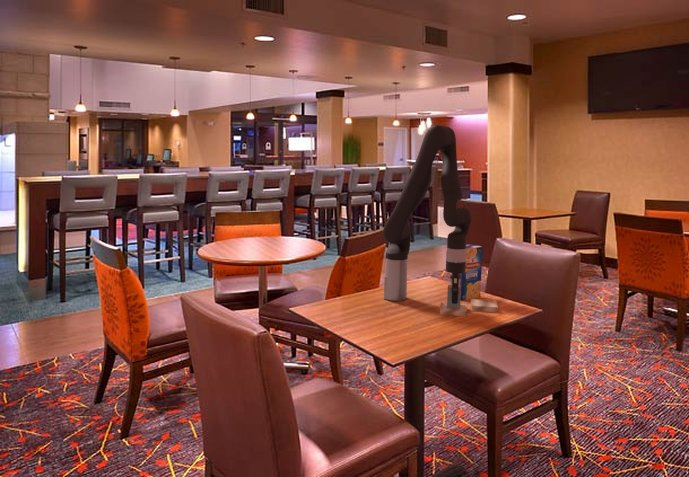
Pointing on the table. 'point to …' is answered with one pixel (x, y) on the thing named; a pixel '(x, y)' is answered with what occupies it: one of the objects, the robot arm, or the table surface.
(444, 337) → the table surface
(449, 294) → the block
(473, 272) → the blue food carton
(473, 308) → the stand
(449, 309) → the stand
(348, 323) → the table surface
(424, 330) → the table surface
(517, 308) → the table surface
